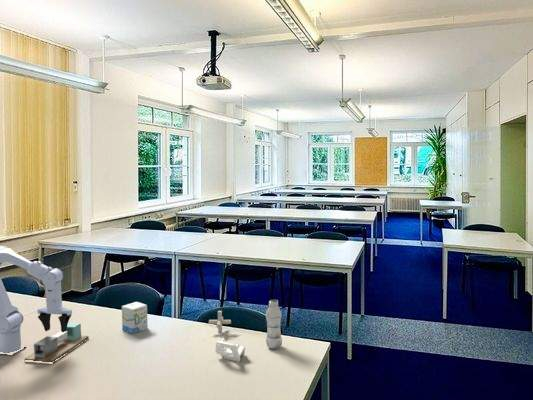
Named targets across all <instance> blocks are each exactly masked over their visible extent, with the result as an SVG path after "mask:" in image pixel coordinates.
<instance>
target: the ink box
mask: <svg viewBox="0 0 533 400" xmlns="http://www.w3.org/2000/svg"><path fill="white" fill-rule="evenodd" d="M121 321H122V322H121V325H122V327H121V328H122V329H121V330H122V331H124V332H127V333H128V334H136V332H137V333H139V332H141V330H142V331H144V329H145V330H147V329H148V326H149V325H148V305H147V304H145V303H142V302H139V301H133V302H132V303H127V304H125V305H122V306H121Z"/></svg>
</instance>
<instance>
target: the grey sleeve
mask: <svg viewBox="0 0 533 400" xmlns="http://www.w3.org/2000/svg"><path fill="white" fill-rule="evenodd" d="M39 345H41V346H43V351H40V346H39ZM33 351H34V352H33V353H34V355H35V358H41V359H46V358H47V357H49V356H50V355H52V354H53V353H55V352H56V351H58V345H57V337H52V336H50V335H49V336H48V335H47V336H45V337H44V338H42V339H39V340H38V341H36V342H35V343H33Z"/></svg>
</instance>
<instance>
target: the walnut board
mask: <svg viewBox="0 0 533 400" xmlns="http://www.w3.org/2000/svg"><path fill="white" fill-rule="evenodd" d="M87 339H88V340H89V335H81V337H79V338H78V339H76V340H64V341H62V342H61V343H59V344H58V351H56V352H55V353H53V354H52V355H50V356H49V357H47V358H46V359H41V358H35V355H34V352H32V353H31V354H29V355H28V356H26V357H24V361H25V360H33V361H42V362H53V361H55V360H56V359H58V358H60V357H61V356H63V355H64V354H66V353H68V352H69V351H70V350H72V349H73V348H75V347H76V346H78V345H79V344H81V343H82V342H84V341H85V340H87ZM88 340H87V341H88ZM85 342H86V341H85ZM85 342H84V343H85ZM82 344H83V343H82ZM82 344H81V345H82ZM78 347H79V346H78ZM75 349H76V348H75ZM72 351H73V350H72ZM69 353H70V352H69ZM69 353H68V354H69ZM66 355H67V354H66ZM63 357H64V356H63Z"/></svg>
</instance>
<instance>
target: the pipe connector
mask: <svg viewBox="0 0 533 400" xmlns="http://www.w3.org/2000/svg"><path fill="white" fill-rule="evenodd" d="M222 315H223V310H218V311H217V319H209V320H208V324H209V325H216V328H217V331H218V332H217V333H218V334H222V333H223V325H229V324H230V325H232V320H231V319H224V316H222Z"/></svg>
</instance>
